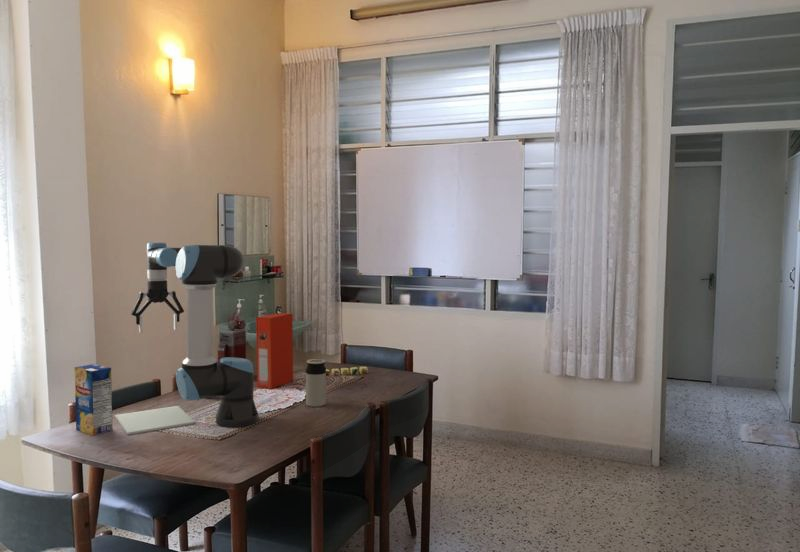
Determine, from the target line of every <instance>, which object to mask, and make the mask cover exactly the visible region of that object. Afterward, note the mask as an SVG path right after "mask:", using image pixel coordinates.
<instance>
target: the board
mask: <svg viewBox="0 0 800 552" xmlns="http://www.w3.org/2000/svg"><path fill="white" fill-rule="evenodd" d="M115 419H116V421H117V422H118V423H119V425H120V426H121V428H122V429H123V431H124V432H125V434H126V435H127V436H130V435H134V434H140V433H141V434H143V433H147V432H152V431H153V432H154V431H160V430H166V429H171V428H177V427H183V426H189V425H195V423H196V422H195V420H194V419H193V418H191V417H190V416H189V415H188V414H187V413H186V411H184V410H183V409H182V408H181V407H180V406H179V405H174V406H169V407H168V406H167V407H159V408H154V409H153V408H152V409H145V410H139V411H133V412H126V413H119V414H115Z"/></svg>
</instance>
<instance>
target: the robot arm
mask: <svg viewBox="0 0 800 552" xmlns="http://www.w3.org/2000/svg"><path fill="white" fill-rule="evenodd" d="M145 252H146V264H147V266H146V269H147V271H146V272H147V280H148V281H147V292H142V291H139V293H138V298H137V300H136V302H135V304H134V306H133V309H132V310H131V313H130V315H131V316H133V317H135V324H136V326H138V332H139V333H140V334H141V333H143V317H142V316H141V315H142V314H143V313H144V312H145V311H146V310H147V308H148V307H149V306H150V304H152V303H154V304H157V303H163V302H164V303H165V304H166V305H167V306H168V307H169V308H170V310H172V311H173V312H174V313H173V330H174V331H177V330H178V323H179V322H180V314H182V313H184V312H185V311H184V308H183V306H182V304H181V303H180V301H179V299H178V298H177V294H176V291H174V290H171V291H168V280H167V279H168V268H170V267H174V269H175V275H176V278H177V279H178V280H180V281H181V285H182V286H183V287H184V288H185V289H186V357H185V358H184V359H183V360H182V361H181V367H179V368H177V369H176V373H175V383H176V387H177V389H178V392H179V394H180V396H181V398H182V399H183V400H185V401H189V402H190V401H191V402H192V401H199V400H206V399H205V398H209V399H212V398H216V397H220V403H219V405H218V409H217V412H216V413H215V414H216V415H215V424H216V425H218V426H219V427H220V426H221V427H227V428H230V427H231V428H235V427H236V428H237V427H239V428H240V427H246V426H249V425H253V424H255V423H257V422H258V421H259V412H258V409H257V406H256V404H255V400H254V373H255V371H254V365H253V364H254V363H253V362H252V361H251V360H250V359H247V358H246V359H243V358H233V357H226V358H221V359H220V363H218V359H216V358H215V357H214V356H213V319H214V318H213V313H214V312H213V308H214V307H213V306H214V305H213V297H214V296H213V289H214V288H215V287H216V286H217V285H218V279H225V278H231V277H234V276H236V275H237V274H239V273H240V272H241V271H242V269H243V268H244V264H245V257H244V255H243V253H242V252H241V250H239V248H237V247H235V246H231V245H227V244H226V245H225V244H221V245H218V244H217V245H213V244H208V245H207V244H191V245H184V246H182V247H169V246H168V247H167V243H166V242H148V243H147V244H146V251H145ZM168 296H169V297H171V298H172V299H173V301H174V303H175V305H176V307H177V308H178V309H177V308H176V307H175V305H173V303H171V302H170V300H169V299H168ZM146 297H147V300H146V301H145V303H144V304H143V305H142V306H141V303H142V302H143V299H144V298H146ZM140 306H141V308H140ZM139 308H140V309H139ZM211 397H212V398H211Z"/></svg>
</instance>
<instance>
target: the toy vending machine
mask: <svg viewBox="0 0 800 552" xmlns="http://www.w3.org/2000/svg"><path fill="white" fill-rule="evenodd" d="M227 328H228V329H223V330H219V331H218V347H217V364H218V363H220V359H221V358H226V357H233V358H243V359H247V332H246V329H241V328H240V329H239V328H238V322H237V321H236V320H229V321H228V322H227Z"/></svg>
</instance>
